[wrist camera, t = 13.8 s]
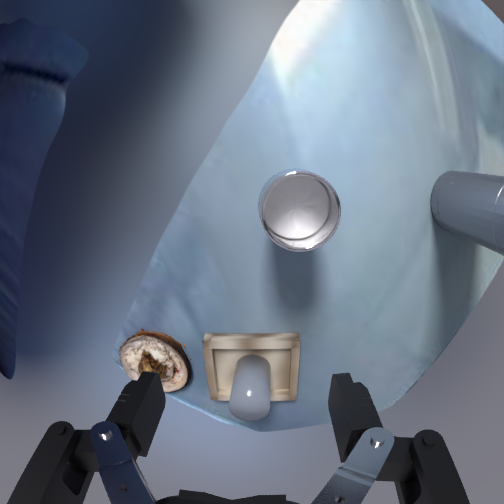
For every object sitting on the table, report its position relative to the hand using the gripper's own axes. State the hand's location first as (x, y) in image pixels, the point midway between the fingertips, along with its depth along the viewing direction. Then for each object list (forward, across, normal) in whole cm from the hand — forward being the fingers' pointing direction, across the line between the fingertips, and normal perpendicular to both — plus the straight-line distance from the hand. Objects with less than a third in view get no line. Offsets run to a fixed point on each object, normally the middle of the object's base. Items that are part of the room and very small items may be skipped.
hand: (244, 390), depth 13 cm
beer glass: (+28, -4, -6) cm, 29 cm away
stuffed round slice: (+29, +17, +20) cm, 39 cm away
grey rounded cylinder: (+27, +1, +20) cm, 34 cm away
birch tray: (+28, +1, +20) cm, 35 cm away
